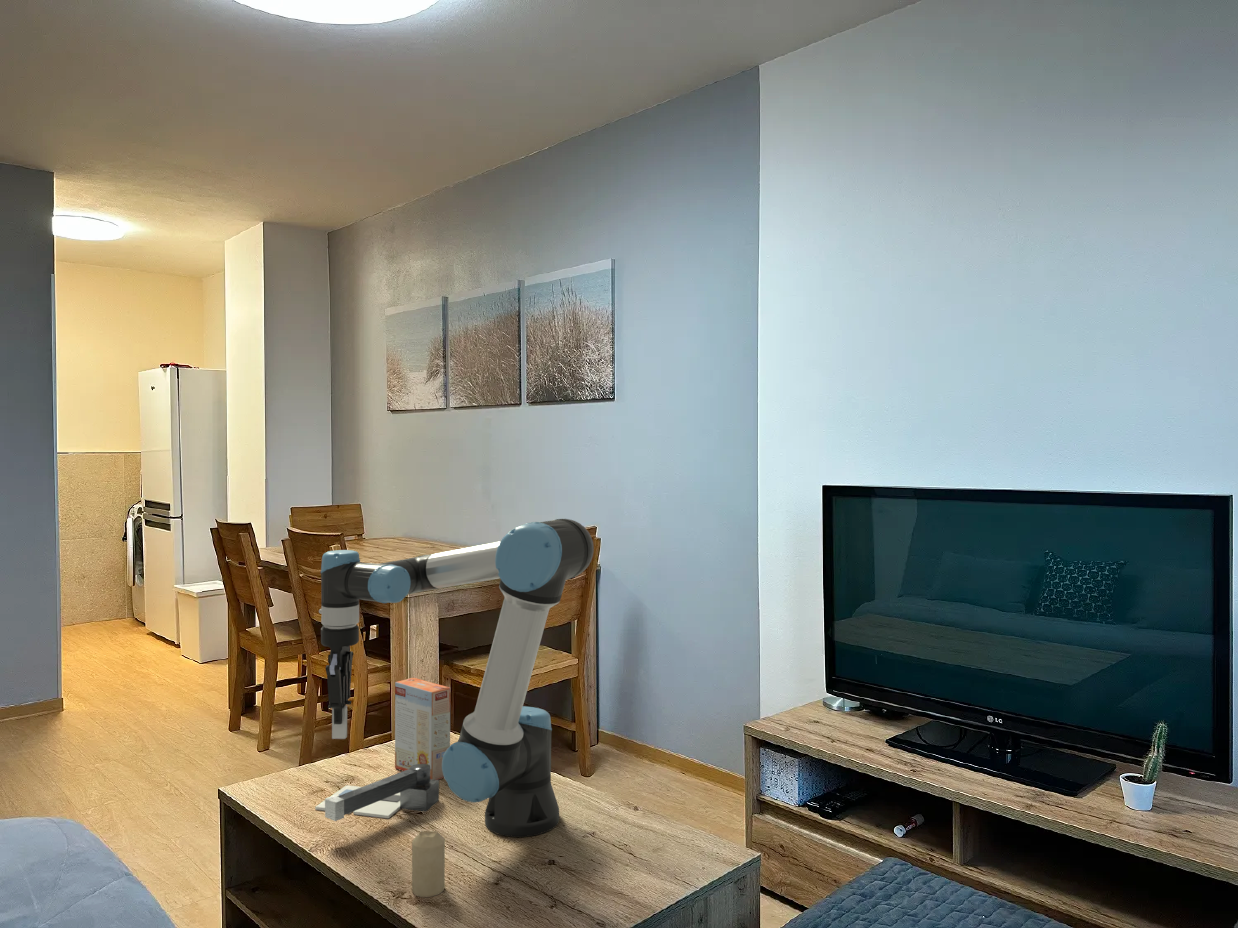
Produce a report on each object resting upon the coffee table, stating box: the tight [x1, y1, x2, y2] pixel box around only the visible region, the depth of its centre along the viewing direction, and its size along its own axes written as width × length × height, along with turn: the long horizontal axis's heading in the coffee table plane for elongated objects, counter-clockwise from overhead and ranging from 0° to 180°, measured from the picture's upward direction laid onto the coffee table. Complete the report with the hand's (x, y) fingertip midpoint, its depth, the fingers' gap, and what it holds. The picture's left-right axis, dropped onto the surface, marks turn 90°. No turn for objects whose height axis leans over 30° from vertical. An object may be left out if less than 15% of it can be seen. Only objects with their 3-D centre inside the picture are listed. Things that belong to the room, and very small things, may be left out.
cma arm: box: [324, 764, 430, 822], centre depth 179 cm, size 25×4×4 cm, turn 144°
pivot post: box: [399, 779, 440, 813], centre depth 187 cm, size 6×6×4 cm
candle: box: [411, 830, 446, 898], centre depth 152 cm, size 6×6×10 cm
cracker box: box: [394, 677, 451, 781], centre depth 206 cm, size 14×6×21 cm, turn 50°
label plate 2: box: [353, 793, 401, 819], centre depth 187 cm, size 8×12×1 cm, turn 166°
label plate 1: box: [314, 784, 362, 814], centre depth 189 cm, size 8×12×1 cm, turn 166°
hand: (339, 737), depth 183 cm, fingers closed
